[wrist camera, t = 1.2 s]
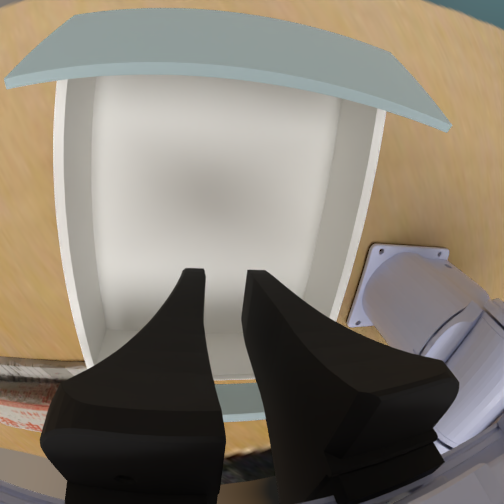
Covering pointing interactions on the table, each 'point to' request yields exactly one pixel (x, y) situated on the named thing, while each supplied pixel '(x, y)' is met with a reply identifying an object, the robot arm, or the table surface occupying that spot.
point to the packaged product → (31, 389)
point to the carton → (205, 199)
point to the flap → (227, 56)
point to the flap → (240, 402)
